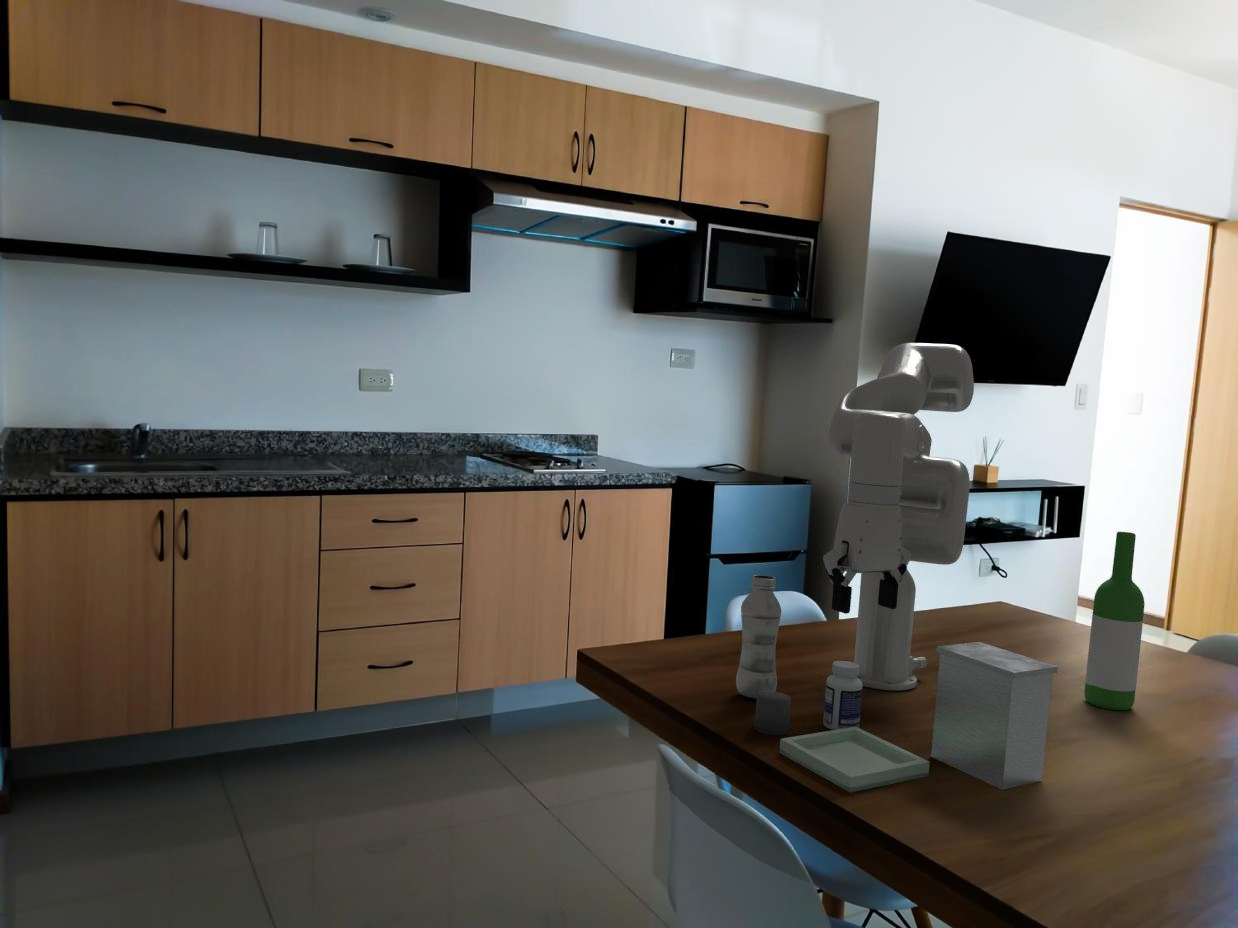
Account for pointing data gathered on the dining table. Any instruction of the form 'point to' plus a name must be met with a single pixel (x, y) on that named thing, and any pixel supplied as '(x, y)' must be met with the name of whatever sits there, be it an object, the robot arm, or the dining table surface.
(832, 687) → the pill bottle
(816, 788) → the dining table surface
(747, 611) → the plastic bottle
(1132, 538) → the wine bottle
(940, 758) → the metal box
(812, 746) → the tray
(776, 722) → the stopper
